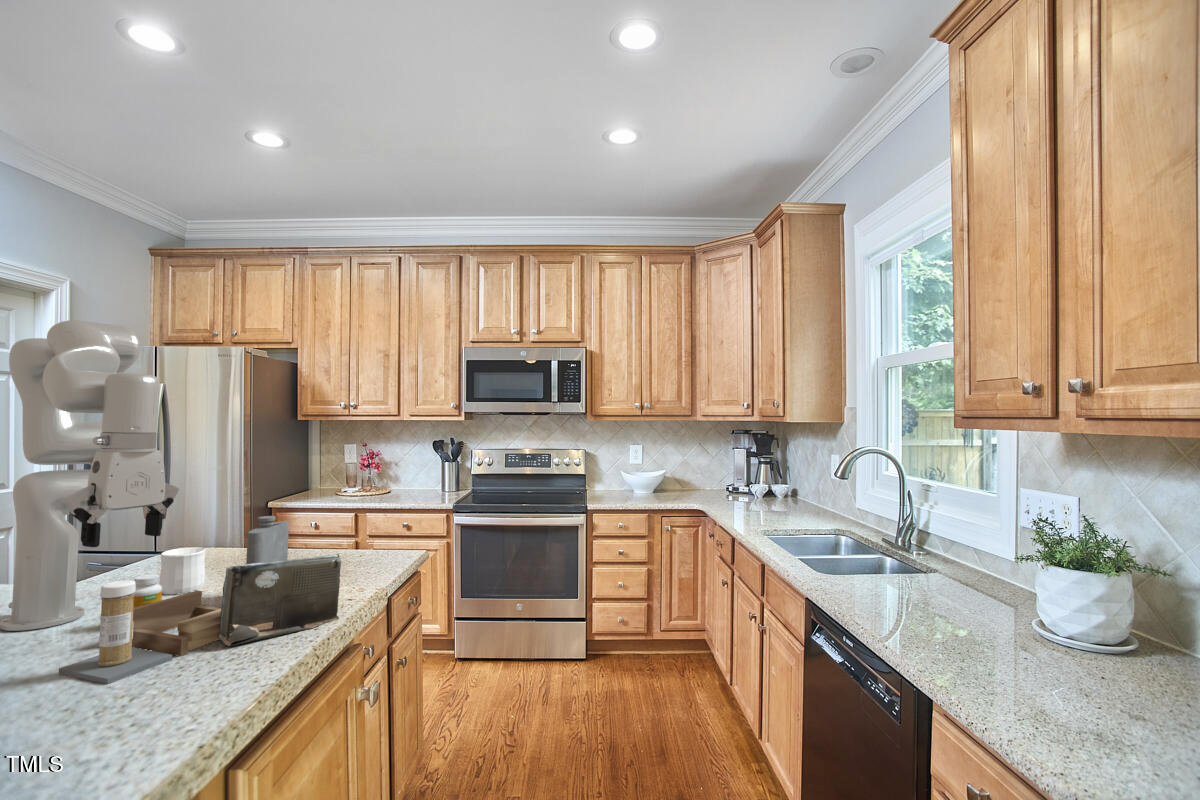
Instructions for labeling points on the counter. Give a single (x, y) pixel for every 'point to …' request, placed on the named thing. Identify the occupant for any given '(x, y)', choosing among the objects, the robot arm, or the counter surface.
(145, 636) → the rack
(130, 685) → the counter surface
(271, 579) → the radio
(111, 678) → the rubber mat
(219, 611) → the offcut stack
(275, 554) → the hip flask
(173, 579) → the cup
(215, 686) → the counter surface
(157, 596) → the supplement bottle
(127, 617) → the sprinkles bottle
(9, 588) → the counter surface
